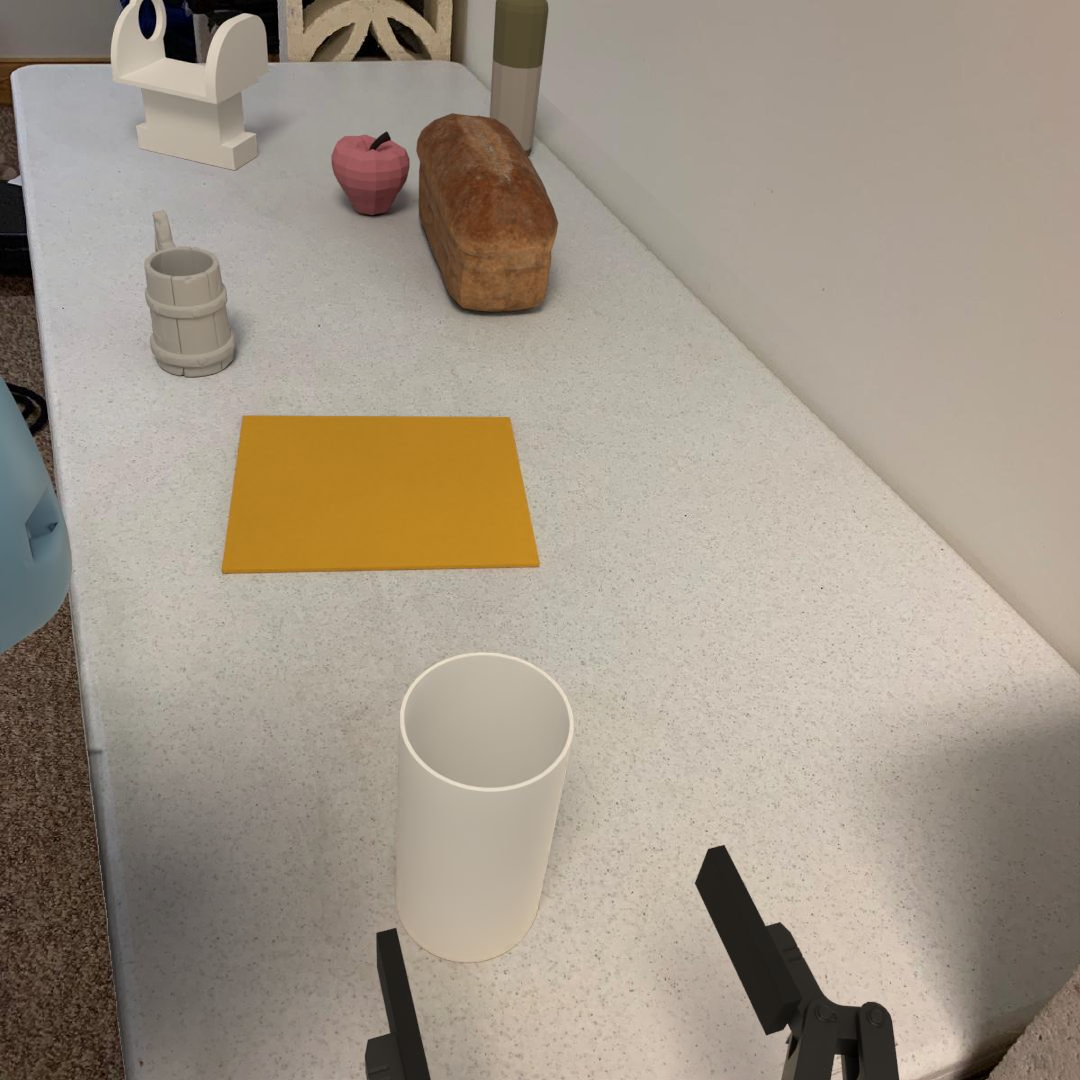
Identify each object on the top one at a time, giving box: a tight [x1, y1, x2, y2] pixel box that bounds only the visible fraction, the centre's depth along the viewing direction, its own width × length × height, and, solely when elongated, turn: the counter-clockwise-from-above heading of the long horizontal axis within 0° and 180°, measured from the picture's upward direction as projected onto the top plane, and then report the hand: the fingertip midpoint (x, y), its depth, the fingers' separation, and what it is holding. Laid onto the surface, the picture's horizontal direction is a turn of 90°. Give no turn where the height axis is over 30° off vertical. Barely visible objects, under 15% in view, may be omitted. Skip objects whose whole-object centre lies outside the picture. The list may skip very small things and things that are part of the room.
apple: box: [330, 130, 411, 216], centre depth 120 cm, size 10×9×10 cm
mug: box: [143, 209, 237, 378], centre depth 92 cm, size 8×12×12 cm, turn 31°
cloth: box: [221, 414, 541, 574], centre depth 83 cm, size 24×20×1 cm
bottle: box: [489, 0, 549, 156], centre depth 133 cm, size 7×7×30 cm
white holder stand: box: [110, 0, 270, 171], centre depth 126 cm, size 14×13×18 cm
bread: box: [415, 112, 559, 312], centre depth 111 cm, size 12×28×14 cm, turn 15°
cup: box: [395, 651, 575, 964], centre depth 52 cm, size 8×8×16 cm
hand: (555, 902), depth 39 cm, fingers open, 13 cm apart
